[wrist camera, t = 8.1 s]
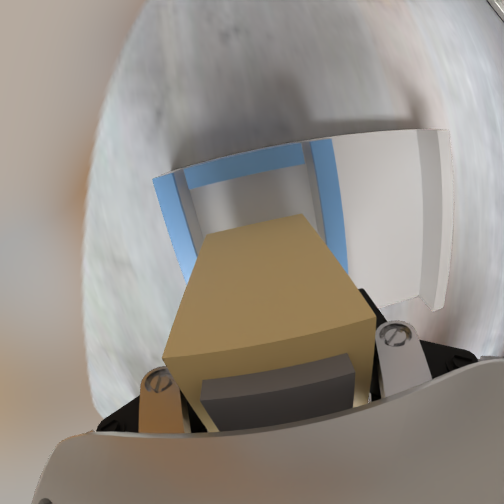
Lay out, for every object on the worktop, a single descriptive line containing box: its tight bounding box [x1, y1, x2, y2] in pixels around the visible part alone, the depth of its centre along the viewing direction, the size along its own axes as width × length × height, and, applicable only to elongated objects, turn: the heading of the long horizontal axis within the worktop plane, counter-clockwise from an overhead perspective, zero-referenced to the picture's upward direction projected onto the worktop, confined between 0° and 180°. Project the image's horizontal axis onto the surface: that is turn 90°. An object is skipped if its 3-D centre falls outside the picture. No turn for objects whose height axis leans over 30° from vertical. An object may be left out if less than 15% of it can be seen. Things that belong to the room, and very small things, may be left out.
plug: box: [162, 214, 376, 432], centre depth 10 cm, size 6×4×9 cm
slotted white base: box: [152, 129, 454, 312], centre depth 15 cm, size 12×16×3 cm
